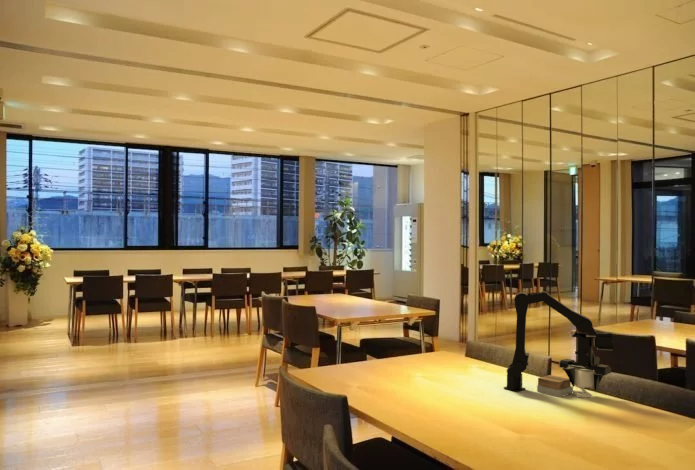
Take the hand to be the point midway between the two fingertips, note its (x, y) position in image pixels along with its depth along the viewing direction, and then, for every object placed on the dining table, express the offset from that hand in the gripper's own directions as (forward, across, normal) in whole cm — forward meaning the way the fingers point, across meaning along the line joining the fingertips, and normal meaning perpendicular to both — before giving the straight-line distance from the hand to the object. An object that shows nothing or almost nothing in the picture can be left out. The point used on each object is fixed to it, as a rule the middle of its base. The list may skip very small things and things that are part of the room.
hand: (584, 388), depth 225 cm
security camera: (+3, 0, 0) cm, 3 cm away
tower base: (+3, +10, +4) cm, 12 cm away
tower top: (0, +11, +4) cm, 11 cm away
